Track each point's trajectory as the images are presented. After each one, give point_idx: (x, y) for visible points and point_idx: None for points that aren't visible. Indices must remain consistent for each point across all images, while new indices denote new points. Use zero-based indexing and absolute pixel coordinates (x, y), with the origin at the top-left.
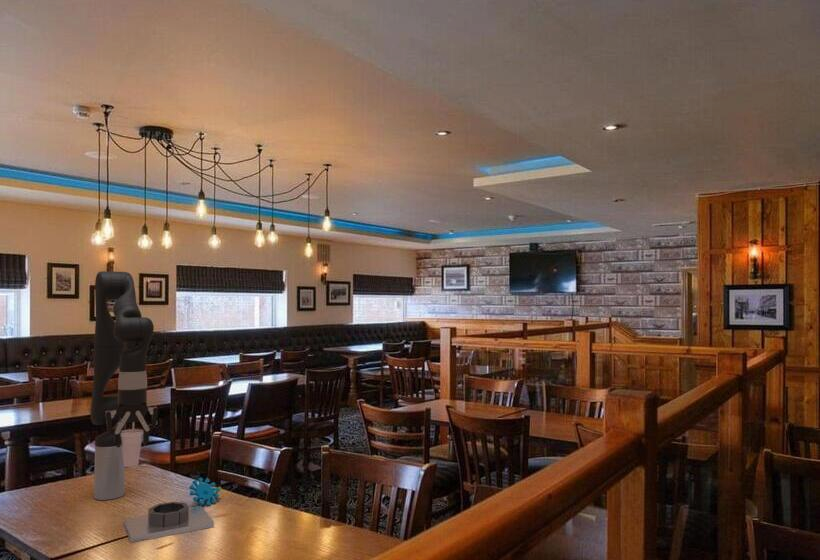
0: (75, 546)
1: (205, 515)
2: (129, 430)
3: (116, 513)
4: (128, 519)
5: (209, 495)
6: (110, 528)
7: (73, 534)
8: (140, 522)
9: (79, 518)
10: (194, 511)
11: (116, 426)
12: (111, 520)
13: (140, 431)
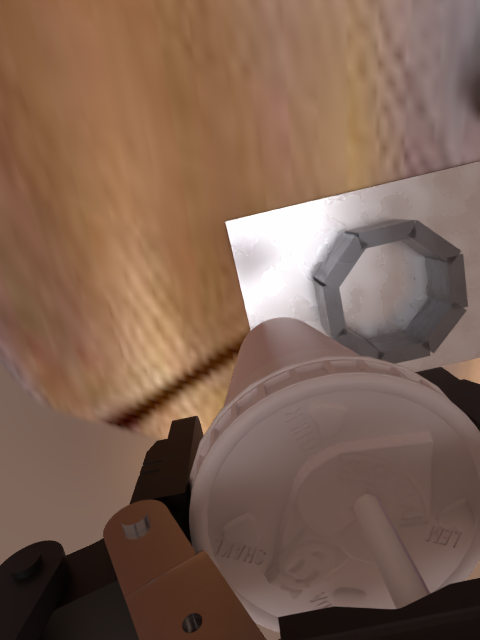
0: (114, 379)
1: None
2: (315, 500)
3: (181, 79)
4: (244, 236)
5: None
6: (188, 253)
7: (78, 274)
8: (287, 281)
9: (49, 96)
10: (472, 220)
11: (123, 594)
12: (177, 164)
13: (455, 539)
